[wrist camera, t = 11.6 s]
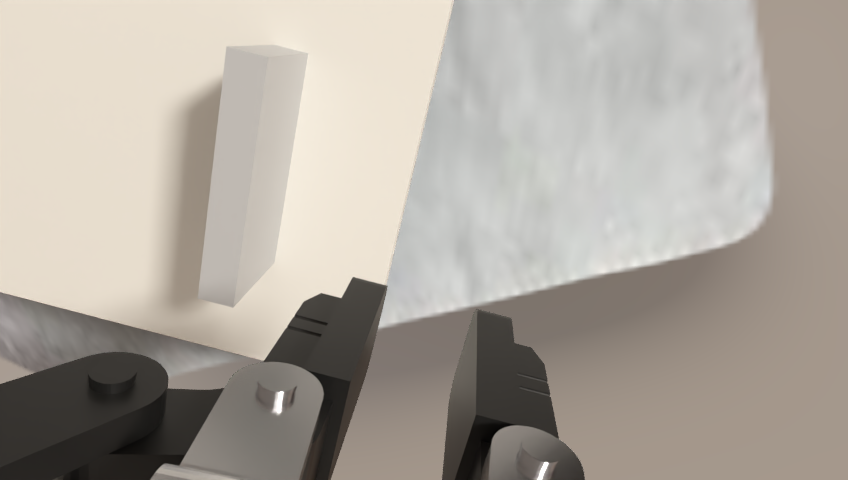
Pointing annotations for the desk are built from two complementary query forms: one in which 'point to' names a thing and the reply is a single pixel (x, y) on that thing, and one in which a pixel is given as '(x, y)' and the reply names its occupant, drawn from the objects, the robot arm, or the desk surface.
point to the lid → (208, 155)
